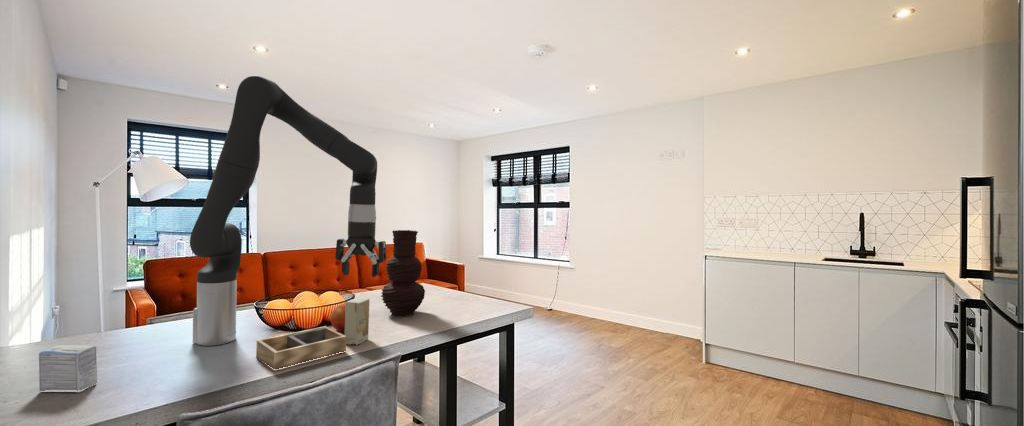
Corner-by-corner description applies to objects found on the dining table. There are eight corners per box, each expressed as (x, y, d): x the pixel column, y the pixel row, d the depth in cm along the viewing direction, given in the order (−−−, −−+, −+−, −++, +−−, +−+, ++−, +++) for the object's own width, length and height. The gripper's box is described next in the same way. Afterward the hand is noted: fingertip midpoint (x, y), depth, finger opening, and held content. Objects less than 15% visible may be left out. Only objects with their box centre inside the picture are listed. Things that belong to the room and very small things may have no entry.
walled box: (274, 371, 103) (275, 352, 103) (256, 357, 111) (256, 340, 111) (345, 352, 117) (346, 336, 117) (324, 341, 125) (325, 326, 125)
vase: (380, 308, 161) (382, 228, 160) (421, 307, 166) (424, 229, 165) (380, 320, 147) (382, 232, 145) (426, 318, 151) (429, 233, 150)
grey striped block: (98, 384, 93) (98, 345, 93) (77, 394, 89) (77, 352, 89) (60, 383, 93) (60, 344, 93) (38, 393, 89) (37, 351, 88)
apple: (354, 325, 141) (354, 301, 141) (360, 332, 134) (361, 307, 134) (327, 328, 137) (328, 303, 136) (333, 336, 130) (333, 310, 129)
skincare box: (357, 346, 122) (358, 303, 122) (343, 344, 123) (344, 302, 123) (369, 338, 129) (370, 298, 128) (355, 337, 130) (357, 296, 129)
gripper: (331, 219, 122) (330, 276, 122) (380, 222, 120) (378, 279, 121) (344, 218, 129) (343, 272, 130) (390, 220, 128) (389, 274, 129)
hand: (360, 275), depth 126 cm, fingers open, 8 cm apart
